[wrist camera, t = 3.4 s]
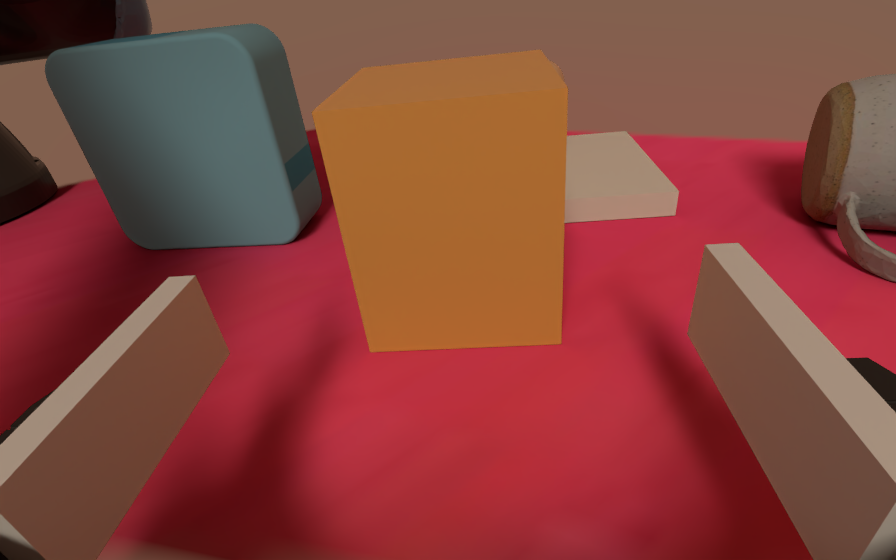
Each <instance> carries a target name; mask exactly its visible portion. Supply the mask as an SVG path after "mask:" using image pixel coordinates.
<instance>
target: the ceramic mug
mask: <svg viewBox="0 0 896 560" xmlns="http://www.w3.org/2000/svg"><path fill="white" fill-rule="evenodd" d="M801 198H802V205H803V208H804V210H805V212H806V213H807V214H808V215H809V216H810V217H812V218H813V219H814V220H816V221H820V222H824V223H827V224H831V225H837V231H838V235H839V237H840V239H841V241H842V244H843V246H844V248H845V249H846V251H847V253H848V255H849V256H850V257H851V258H852V259H853V260H854V261H855V262H856V263H858V264H859V265H860V266H861V267H862V268H864V269H866V270H867V271H869V272H871V273H873V274H875V275H878V276H880V277H882V278H884V279H886V280H888V281H891V282H895V283H896V255H895V254H893V253H891V252H889V251H887V250H885V249H882V248H881V247H879V246H877V245H876V244H875V243H874V242H872V241H871V240H870V239H869V238H868V237H867V236H866V234H865V233H864V232H863V231H862V230H861V229H874V230H888V231H896V74H890V75H879V76H872V77H867V78H863V79H859V80H855V81H851V82H846V83H842V84H840V85H838V86H836V87H834V88H832V89H831V90H830V91H828V93H827V94H826V95H825V96H824V97H823V99H822V101H821V102H820V104H819V107H818V109H817V112H816V115H815V118H814V121H813V124H812V127H811V131H810V135H809V139H808V143H807V148H806V153H805V159H804V166H803V174H802V187H801Z"/></svg>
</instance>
